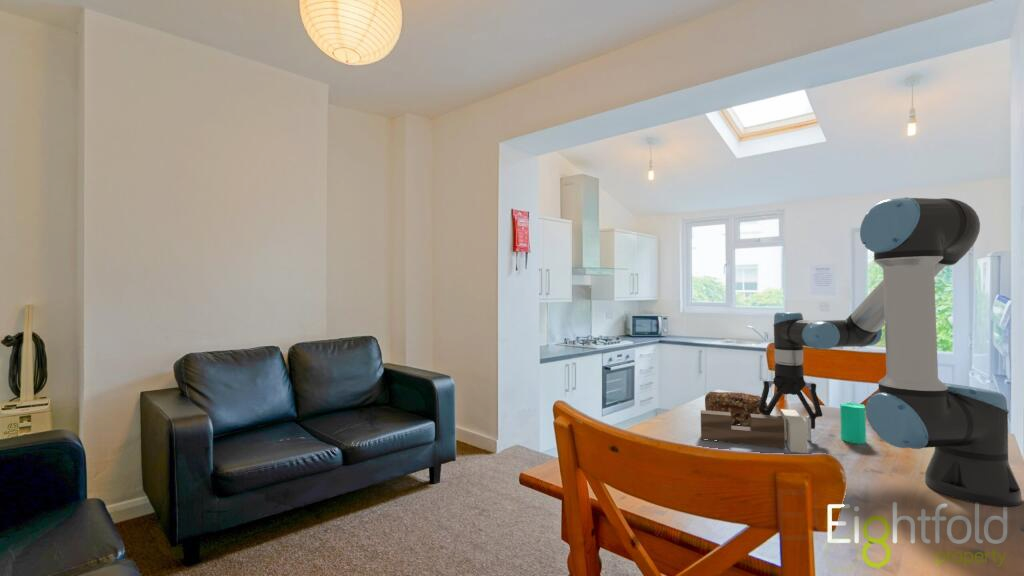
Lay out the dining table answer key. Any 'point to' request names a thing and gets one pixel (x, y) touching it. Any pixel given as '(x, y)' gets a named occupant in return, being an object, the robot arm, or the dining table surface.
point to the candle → (853, 422)
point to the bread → (734, 405)
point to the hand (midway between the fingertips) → (789, 437)
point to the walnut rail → (743, 429)
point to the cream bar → (794, 431)
